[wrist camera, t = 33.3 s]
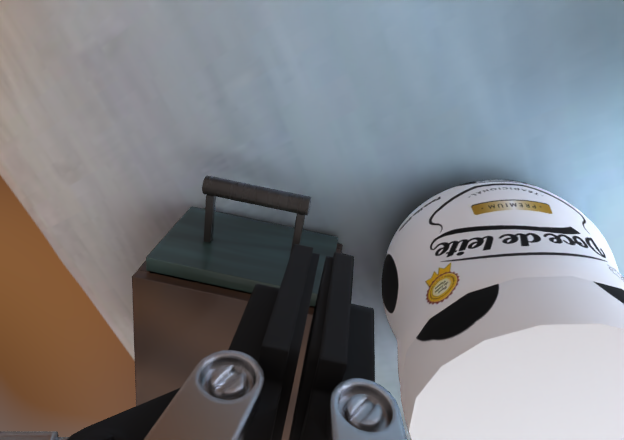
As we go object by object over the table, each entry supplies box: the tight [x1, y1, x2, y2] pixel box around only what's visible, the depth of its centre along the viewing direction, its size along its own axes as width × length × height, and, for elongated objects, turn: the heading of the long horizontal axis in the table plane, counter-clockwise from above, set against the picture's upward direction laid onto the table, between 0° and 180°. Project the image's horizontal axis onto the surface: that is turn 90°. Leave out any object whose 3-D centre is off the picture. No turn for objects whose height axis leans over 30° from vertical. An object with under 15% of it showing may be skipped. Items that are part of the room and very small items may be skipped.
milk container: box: [382, 180, 624, 440], centre depth 31 cm, size 17×17×18 cm
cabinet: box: [132, 244, 342, 440], centre depth 39 cm, size 17×15×11 cm
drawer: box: [146, 176, 338, 308], centre depth 37 cm, size 21×14×9 cm, turn 170°
